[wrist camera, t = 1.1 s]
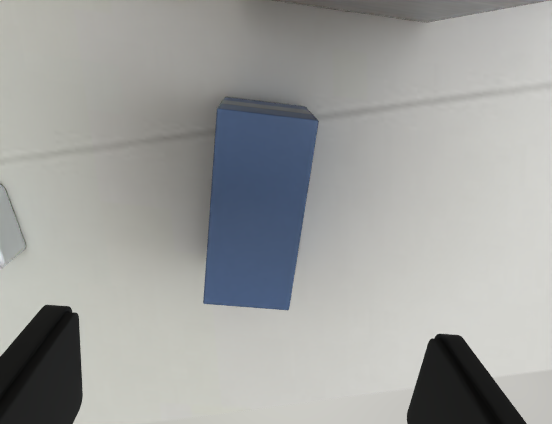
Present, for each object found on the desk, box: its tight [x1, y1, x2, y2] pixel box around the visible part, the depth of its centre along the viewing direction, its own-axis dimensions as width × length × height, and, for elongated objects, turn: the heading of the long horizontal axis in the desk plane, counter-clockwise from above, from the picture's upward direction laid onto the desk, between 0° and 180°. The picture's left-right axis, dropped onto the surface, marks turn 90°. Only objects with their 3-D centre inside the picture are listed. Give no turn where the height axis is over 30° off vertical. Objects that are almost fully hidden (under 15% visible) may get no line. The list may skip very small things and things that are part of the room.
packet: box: [203, 97, 319, 310], centre depth 22 cm, size 10×4×5 cm, turn 173°
